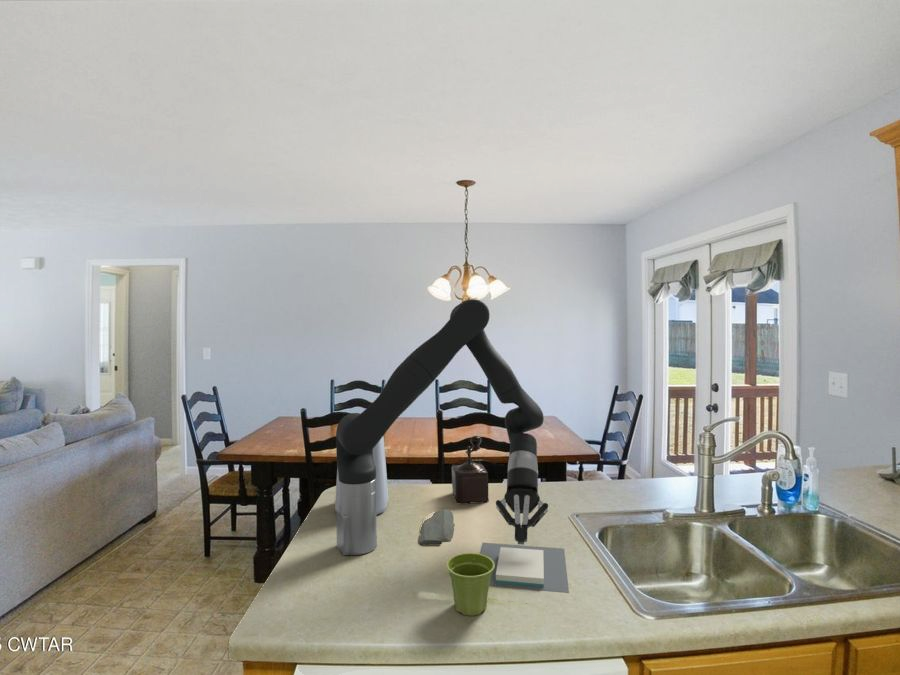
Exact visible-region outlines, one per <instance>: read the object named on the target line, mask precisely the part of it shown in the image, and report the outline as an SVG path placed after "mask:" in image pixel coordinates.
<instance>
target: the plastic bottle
mask: <svg viewBox="0 0 900 675" xmlns="http://www.w3.org/2000/svg"><path fill="white" fill-rule="evenodd" d="M385 450H386V449H385V436H383V437H382V438H381V439H380V441H379V442H378V443H377V445H376V446H375V447H374V448H373V459H374V463H375V467H376V516H377V515H381V514H383V513H384V512H385V511H386V509H387V505H388V503H389V490H388V488H389V486H388V477H387V476H388V473H387V464H386V463H387V461H386V451H385ZM336 468H337V467H336ZM334 503H335V504H334V511H335V512H336V510H337V509H338V508H339V475H338V468H337V469H336V487H335V500H334Z"/></svg>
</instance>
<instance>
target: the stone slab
mask: <svg viewBox="0 0 900 675" xmlns="http://www.w3.org/2000/svg"><path fill="white" fill-rule="evenodd" d="M434 512H435V513H434V514H433V516H432V517H431V518H429V519H427V520H425V521H424V523H423V524H421V525H422V527H421V530H420V529H419V532H420V533H421V534H420V533H419V536H418V543H419V544H420V543H421V544H420V545H422V544H441V545H442V544H443V542H447V543H449V542H452V540H453V538H454V534H455V533H454V532H455V526H456V524H455V522H454V513H453V511H452V510H450V509H445V508H444V509H443V508H442V509H440V510H436V511H434Z"/></svg>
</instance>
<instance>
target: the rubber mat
mask: <svg viewBox="0 0 900 675" xmlns="http://www.w3.org/2000/svg"><path fill="white" fill-rule="evenodd" d="M500 547H507V548H520V549H533V550H543V559H544V587H537V586H526V585H515V584H503V583H496V570H497V565H498V559H499V553H500ZM479 554H482V555H485V556H487V557H489V558H491V559H492V560H493V562H494V564H495V567H494V570H493V571H492V575H491V577H490V583H489V587H499V588H510V589H520V590H521V589H523V590H531V591H532V590H533V591H543V592H553V593H566V594H569V593H570V589H569V582H568V571H567V564H566V554H565V548H561V547H550V546H549V547H545V546H533V545H523V544H508V543H493V542H492V543H491V542H482V544H481V546H480V551H479Z"/></svg>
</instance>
